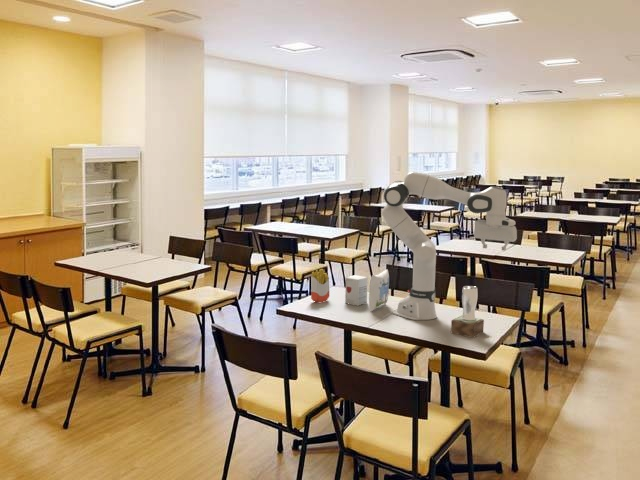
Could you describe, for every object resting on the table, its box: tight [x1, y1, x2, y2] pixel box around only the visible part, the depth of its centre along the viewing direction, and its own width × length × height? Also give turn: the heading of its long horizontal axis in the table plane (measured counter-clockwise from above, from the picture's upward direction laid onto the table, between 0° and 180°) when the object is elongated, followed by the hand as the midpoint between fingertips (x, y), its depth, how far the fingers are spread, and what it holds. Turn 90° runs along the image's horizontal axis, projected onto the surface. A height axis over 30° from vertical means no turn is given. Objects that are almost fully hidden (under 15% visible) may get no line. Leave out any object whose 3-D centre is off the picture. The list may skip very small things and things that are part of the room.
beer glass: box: [461, 285, 478, 321], centre depth 267 cm, size 7×7×15 cm
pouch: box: [368, 268, 390, 312], centre depth 310 cm, size 8×19×20 cm, turn 146°
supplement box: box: [344, 274, 369, 306], centre depth 319 cm, size 9×9×15 cm
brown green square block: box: [450, 315, 485, 338], centre depth 268 cm, size 11×11×6 cm
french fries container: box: [310, 268, 330, 303], centre depth 322 cm, size 5×11×18 cm, turn 139°
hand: (494, 249), depth 278 cm, fingers open, 8 cm apart
